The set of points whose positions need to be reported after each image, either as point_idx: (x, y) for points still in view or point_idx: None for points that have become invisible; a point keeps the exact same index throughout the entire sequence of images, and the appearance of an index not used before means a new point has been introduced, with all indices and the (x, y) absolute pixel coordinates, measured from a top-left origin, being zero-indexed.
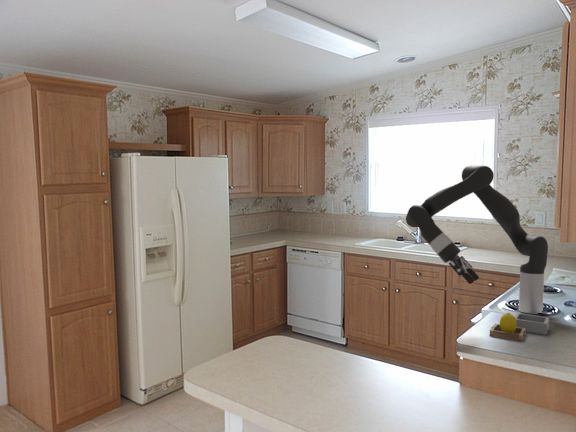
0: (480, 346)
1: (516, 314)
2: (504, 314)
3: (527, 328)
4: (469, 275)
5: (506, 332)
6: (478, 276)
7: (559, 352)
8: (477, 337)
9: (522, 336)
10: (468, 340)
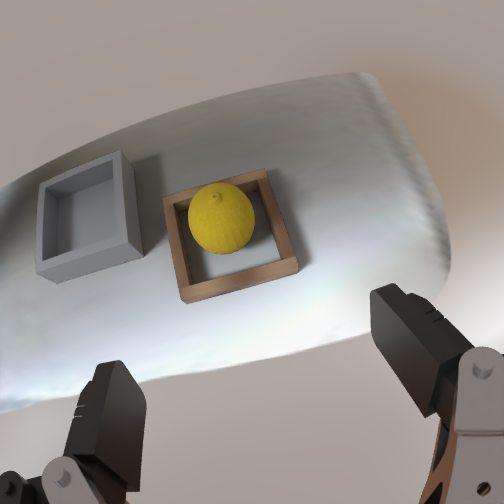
0: (425, 236)
1: (56, 264)
2: (222, 215)
3: (134, 209)
4: (434, 327)
5: (273, 214)
6: (108, 367)
7: (280, 99)
8: (354, 291)
9: (259, 172)
10: (410, 291)
